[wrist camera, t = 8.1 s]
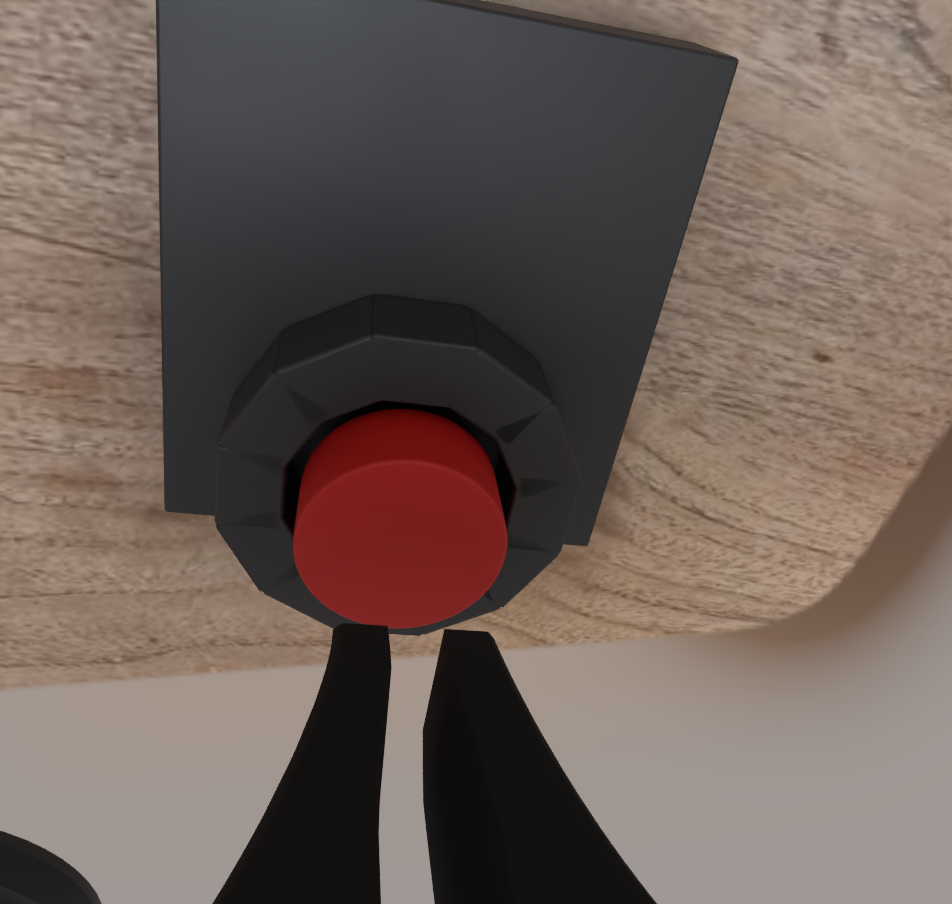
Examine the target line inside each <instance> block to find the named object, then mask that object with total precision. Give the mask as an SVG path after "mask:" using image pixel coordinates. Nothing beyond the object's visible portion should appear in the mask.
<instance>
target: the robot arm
mask: <svg viewBox="0 0 952 904" xmlns="http://www.w3.org/2000/svg"><path fill="white" fill-rule="evenodd" d="M390 678H391V656H390V643H389V633H388V626H386V625H369V624H353V623H342V624H340V625H339V626H337V627H335V628H334V629H333V636H332V644H331V650H330V655H329V659H328V663H327V667H326V671H325V674H324V677H323V681H322V683H321V686H320V689H319V692H318V695H317V698H316V701H315V704H314V706H313V709H312V711H311V713H310V716H309V718H308V721H307V723H306V726H305V728H304V730H303V733H302V735H301V738H300V740H299V743H298V745H297V748H296V750H295V752H294V754H293V757H292V759H291V761H290V763H289V765H288V767H287V769H286V771H285V773H284V775H283V777H282V779H281V781H280V783H279V785H278V787H277V790H276V791H275V793H274V795H273V797H272V799H271V801H270V803H269V805H268V807H267V810H266V812H265V813H264V816H263V817H262V819H261V821H260V823H259V825H258V826H257V828H256V830H255V832H254V834H253V836H252V838H251V839H250V841H249V843H248V845H247V846H246V849H245V850H244V852H243V854H242V856H241V857H240V859H239V860H238V862H237V864H236V866H235V867H234V869H233V871H232V872H231V874H230V876H229V878H228V879H227V881H226V883H225V885H224V886H223V888H222V889H221V891H220V893H219V894H218V896H217V897H216V899H215V901H214V902H213V904H381V896H380V865H379V835H378V833H379V806H380V805H379V804H380V790H381V780H382V768H383V756H384V745H385V735H386V724H387V712H388V701H389V689H390ZM423 803H424V813H425V822H426V831H427V840H428V849H429V857H430V866H431V875H432V884H433V892H434V900H435V904H657V903H656V902H655V901H654V900H653V898H652V897H651V896H650V895H649V893H648V892H647V891H646V889H645V888H644V887H643V885H642V884H641V883H640V882H639V880H638V879H637V878H636V876H635V875H634V874H633V872H632V871H631V870H630V869H629V867H628V866H627V864H626V863H625V862H624V860H623V859H622V858H621V856H620V855H619V854H618V852H617V851H616V849H615V848H614V847H613V845H612V844H611V843H610V841H609V840H608V838H607V837H606V835H605V834H604V832H603V831H602V830H601V828H600V827H599V825H598V824H597V822H596V821H595V819H594V818H593V816H592V815H591V813H590V812H589V810H588V809H587V807H586V805H585V804H584V802H583V801H582V799H581V798H580V797H579V795H578V794H577V792H576V790H575V789H574V787H573V785H572V784H571V782H570V781H569V779H568V777H567V776H566V774H565V773H564V771H563V769H562V768H561V766H560V764H559V763H558V761H557V759H556V757H555V756H554V754H553V752H552V750H551V749H550V747H549V745H548V744H547V742H546V740H545V739H544V737H543V735H542V733H541V732H540V730H539V728H538V726H537V724H536V723H535V721H534V719H533V717H532V715H531V714H530V712H529V710H528V708H527V706H526V704H525V702H524V700H523V698H522V697H521V694H520V693H519V691H518V689H517V687H516V685H515V683H514V681H513V679H512V677H511V675H510V673H509V670H508V668H507V666H506V664H505V662H504V660H503V658H502V656H501V653H500V651H499V649H498V647H497V645H496V642H495V640H494V638H493V637H492V636H491V635H490V634H489V632H483V631H467V630H451V629H444V634H443V638H442V643H441V648H440V652H439V657H438V662H437V667H436V671H435V676H434V681H433V685H432V690H431V695H430V699H429V704H428V709H427V713H426V718H425V722H424V727H423Z"/></svg>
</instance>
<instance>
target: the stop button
mask: <svg viewBox="0 0 952 904" xmlns="http://www.w3.org/2000/svg"><path fill="white" fill-rule="evenodd" d="M506 551H507V530H506V524H505V519H504V514H503V510H502V505H501V500H500V496H499V491H498V486H497V482H496V477H495V472H494V469H493V466H492V463H491V461H490V459H489V457H488V455H487V453H486V451H485V450H484V449H483V447H482V446H481V444H480V443H479V442H478V441H477V440H476V439H475V438H474V437H473V436H472V435H471V434H470V433H469V432H467V431H466V430H465V429H464V428H462V427H461V426H459V425H457V424H456V423H454V422H452V421H451V420H448V419H446V418H444V417H441V416H439V415H436V414H433V413H429V412H426V411H420V410H414V409H386V410H380V411H375V412H371V413H367V414H364V415H361V416H358V417H356V418H354V419H351V420H349V421H347V422H346V423H344V424H342V425H341V426H339V427H337V428H336V429H335V430H333V431H332V432H331V433H329V434H328V435H327V436H326V437H325V438H324V439H323V440H322V441H321V442H320V443H319V444H318V445H317V447H316V448H315V449H314V451H313V452H312V454H311V455H310V457H309V459H308V461H307V463H306V465H305V468H304V471H303V474H302V479H301V485H300V492H299V500H298V507H297V514H296V521H295V528H294V535H293V555H294V560H295V564H296V567H297V570H298V573H299V575H300V576H301V578H302V580H303V582H304V584H305V585H306V587H307V588H308V589H309V591H310V592H311V593H312V594H313V595H314V596H315V597H316V598H317V599H318V600H319V601H320V602H321V603H322V604H324V605H325V606H326V607H327V608H329V609H330V610H332V611H334V612H335V613H337V614H339V615H341V616H343V617H345V618H347V619H350V620H352V621H355V622H358V623H361V624H369V625H386V626H388V628H412V627H419V626H425V625H429V624H433V623H436V622H440V621H442V620H445V619H447V618H450V617H452V616H454V615H456V614H458V613H460V612H462V611H463V610H465V609H466V608H468V607H469V606H471V605H472V604H474V603H475V602H476V601H477V600H478V599H479V598H481V597H482V596H483V595H484V594H485V592H486V591H487V590H488V589H489V588H490V587H491V585H492V584H493V582H494V581H495V580H496V578H497V576H498V574H499V572H500V570H501V568H502V566H503V563H504V560H505V557H506Z"/></svg>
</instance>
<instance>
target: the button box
mask: <svg viewBox="0 0 952 904" xmlns="http://www.w3.org/2000/svg"><path fill="white" fill-rule="evenodd" d="M156 35H157V93H158V152H159V211H160V270H161V328H162V387H163V446H164V505H165V511H167V512H176V513H189V514H201V515H213V516H215V522H216V528H217V530H218V531H219V533H220V534H221V535H222V537H223V538H224V540H225V541H226V543H227V544H228V546H229V547H230V549H231V550H232V551H233V553H234V554H235V556H236V557H237V559H238V560H239V562H240V563H241V565H242V566H243V567H244V569H245V570H246V572H247V573H248V575H249V576H250V578H251V579H252V581H253V582H254V583H255V585H256V586H257V588H258V589H259V591H263V592H264V593H265V594H266V595H268V596H270V597H272V598H274V599H276V600H278V601H280V602H282V603H284V604H286V605H288V606H290V607H292V608H294V609H296V610H298V611H300V612H301V613H303V614H305V615H307V616H309V617H311V618H313V619H315V620H317V621H319V622H321V623H323V624H325V625H327V626H329V627H331V628H335V627H337V626H339V625H340V624H342V623H353V624H361V623H358V622H355V621H352V620H350V619H347V618H345V617H343V616H341V615H339V614H337V613H335V612H334V611H332V610H330V609H329V608H327V607H326V606H325V605H324V604H322V603H321V602H320V601H319V600H318V599H317V598H316V597H315V596H314V595H313V594H312V593H311V592H310V591H309V589H308V588H307V587H306V585H305V584H304V582H303V580H302V578H301V576H300V575H299V573H298V570H297V567H296V564H295V560H294V555H293V535H294V528H295V521H296V514H297V507H298V500H299V492H300V485H301V479H302V474H303V471H304V468H305V465H306V463H307V461H308V459H309V457H310V455H311V454H312V452H313V451H314V449H315V448H316V447H317V445H318V444H319V443H320V442H321V441H322V440H323V439H324V438H325V437H326V436H327V435H328V434H329V433H331V432H332V431H333V430H335V429H336V428H337V427H339V426H341V425H342V424H344V423H346V422H347V421H349V420H351V419H354V418H356V417H358V416H361V415H364V414H367V413H371V412H375V411H380V410H386V409H414V410H420V411H426V412H429V413H433V414H436V415H439V416H441V417H444V418H446V419H448V420H451V421H452V422H454V423H456V424H457V425H459V426H461V427H462V428H464V429H465V430H466V431H467V432H469V433H470V434H471V435H472V436H473V437H474V438H475V439H476V440H477V441H478V442H479V443H480V444H481V446H482V447H483V449H484V450H485V451H486V453H487V455H488V457H489V459H490V461H491V463H492V466H493V469H494V472H495V477H496V482H497V486H498V491H499V496H500V500H501V505H502V510H503V514H504V519H505V524H506V530H507V551H506V557H505V560H504V563H503V566H502V568H501V570H500V572H499V574H498V576H497V578H496V580H495V581H494V582H493V584H492V585H491V587H490V588H489V589H488V590H487V591H486V592H485V594H484V595H483V596H482V597H481V598H479V599H478V600H477V601H476V602H475V603H474V604H472V605H471V606H469V607H468V608H466V609H465V610H463V611H462V612H460V613H458V614H456V615H454V616H452V617H450V618H447V619H445V620H442V621H440V622H436V623H433V624H429V625H425V626H419V627H412V628H388V633H389V634H399V635H415V636H420V635H421V634H427V633H430V632H433V631H436V630H439V629H442V628H445V627H448V626H451V625H454V624H457V623H460V622H463V621H466V620H469V619H472V618H475V617H478V616H481V615H483V614H486V613H489V612H492V611H495V610H498V609H499V608H500V607H504V606H505V605H506V604H507V603H508V602H509V601H510V600H511V599H512V598H513V597H514V596H516V595H517V594H518V593H519V592H520V591H521V590H522V589H523V588H524V587H525V586H526V585H527V584H528V583H529V582H530V581H531V580H533V579H534V578H535V577H536V576H537V575H538V574H539V573H540V572H541V571H542V570H543V569H544V568H545V567H546V566H547V565H548V564H550V563H551V562H552V561H553V560H554V559H555V558H556V557H557V556H558V554H559V553H560V552H561V549H562V545H563V544H568V545H580V546H587V545H588V543H589V540H590V537H591V534H592V530H593V527H594V524H595V521H596V517H597V514H598V511H599V508H600V505H601V501H602V498H603V495H604V492H605V489H606V485H607V482H608V479H609V476H610V473H611V469H612V466H613V463H614V460H615V456H616V453H617V450H618V447H619V444H620V440H621V437H622V434H623V431H624V428H625V424H626V421H627V418H628V415H629V412H630V408H631V405H632V402H633V399H634V396H635V392H636V389H637V386H638V383H639V379H640V376H641V373H642V370H643V367H644V363H645V360H646V357H647V354H648V351H649V347H650V344H651V341H652V338H653V335H654V331H655V328H656V325H657V322H658V318H659V315H660V312H661V309H662V306H663V302H664V299H665V296H666V293H667V290H668V286H669V283H670V280H671V277H672V274H673V270H674V267H675V264H676V261H677V258H678V254H679V251H680V248H681V245H682V241H683V238H684V235H685V232H686V229H687V225H688V222H689V219H690V216H691V213H692V209H693V206H694V203H695V200H696V197H697V193H698V190H699V187H700V184H701V180H702V177H703V174H704V171H705V168H706V164H707V161H708V158H709V155H710V152H711V148H712V145H713V142H714V139H715V136H716V132H717V129H718V126H719V123H720V120H721V116H722V113H723V110H724V107H725V103H726V100H727V97H728V94H729V91H730V87H731V84H732V81H733V78H734V75H735V71H736V68H737V65H738V59H737V58H735V57H733V56H730V55H727V54H724V53H721V52H718V51H716V50H713V49H710V48H707V47H704V46H702V45H699V44H696V43H692V42H687V41H682V40H677V39H672V38H667V37H662V36H657V35H652V34H647V33H642V32H637V31H632V30H627V29H622V28H617V27H612V26H607V25H602V24H597V23H592V22H586V21H581V20H576V19H571V18H566V17H561V16H556V15H551V14H546V13H541V12H536V11H531V10H526V9H521V8H516V7H511V6H506V5H501V4H496V3H491V2H486V1H481V0H156Z"/></svg>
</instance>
